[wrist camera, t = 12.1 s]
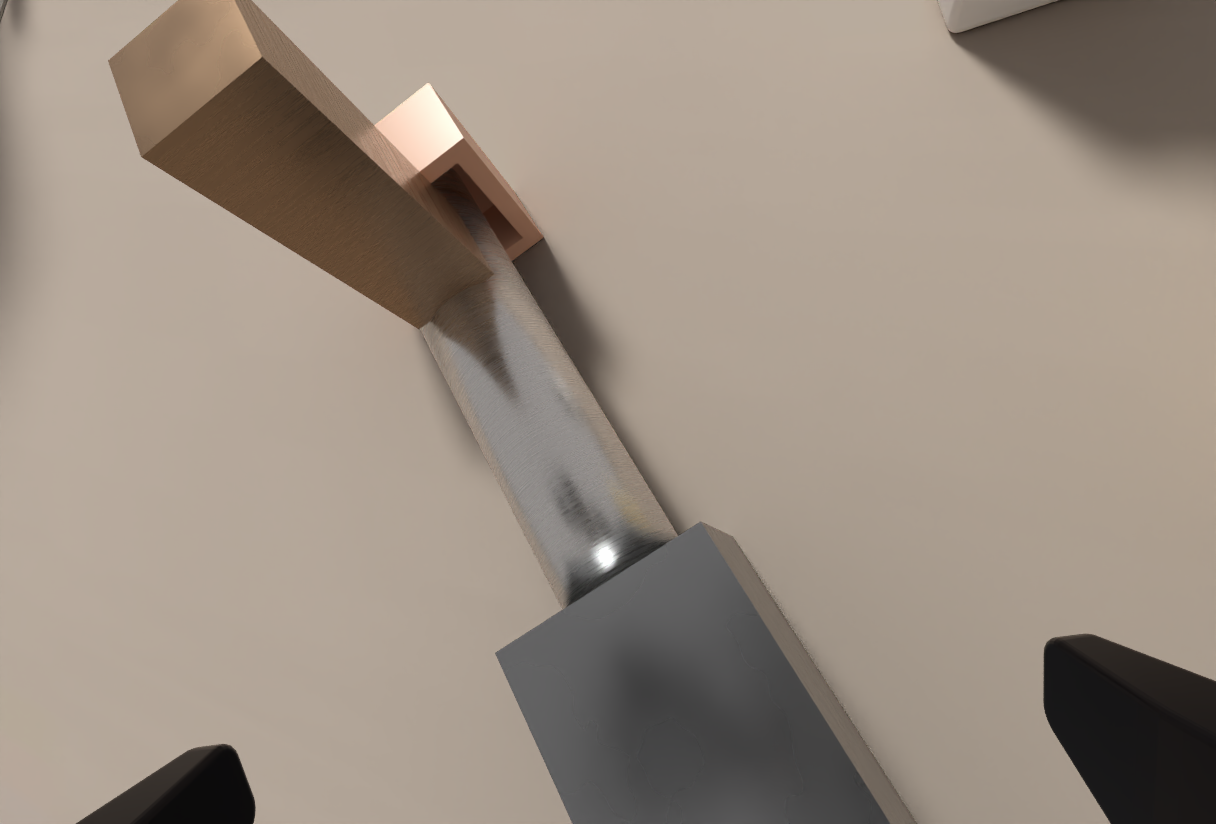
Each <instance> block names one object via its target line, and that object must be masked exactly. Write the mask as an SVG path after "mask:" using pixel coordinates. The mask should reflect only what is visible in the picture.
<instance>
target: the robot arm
mask: <svg viewBox="0 0 1216 824" xmlns="http://www.w3.org/2000/svg"><path fill="white" fill-rule="evenodd" d="M1044 709H1045V714H1046V717H1047V720H1048V722H1049V724H1050V726H1051V728H1052V730H1053V732H1054V733H1055V735H1056V737H1057V738H1058V740H1059V741H1060V743H1061V745H1062V746H1063V748H1064V749H1065V751H1066V753H1067V754H1068V756H1069V757H1070V759H1071V761H1072V762H1073V764H1074V765H1075V767H1076V769H1077V770H1078V772H1079V773H1080V775H1081V777H1082V778H1083V780H1084V781H1085V783H1086V785H1087V786H1088V788H1089V789H1090V791H1091V793H1092V794H1093V796H1094V797H1095V799H1096V801H1097V802H1098V804H1099V805H1100V807H1101V809H1102V810H1103V812H1104V813H1105V815H1106V817H1107V818H1108V820H1109V821H1110V823H1111V824H1216V681H1214V680H1211V679H1209V678H1206V677H1203V676H1201V675H1198V674H1196V673H1193V672H1190V671H1188V670H1185V669H1182V668H1180V667H1177V666H1174V665H1172V664H1169V663H1167V662H1164V661H1161V660H1159V659H1156V658H1153V657H1151V656H1148V655H1146V654H1143V653H1140V652H1138V651H1135V650H1132V649H1130V648H1127V647H1125V646H1122V645H1119V644H1117V643H1114V642H1111V641H1109V640H1106V639H1104V638H1101V637H1098V636H1095V635H1092V634H1078V635H1071V636H1063V637H1055V638H1052V639H1050V640H1049V641H1048V642H1047V643H1046V645H1045V648H1044ZM254 818H255V800H254V797H253V794H252V791H251V788H250V786H249V783H248V780H247V778H246V775H245V772H244V770H243V767H242V764H241V761H240V759H239V756H238V754H237V752H236V750H235V749H234V748H233V747H232V746H230V745H226V744H219V745H211V746H203V747H197V748H193V749H191V750H189V751H187V752H185V753H184V754H182V755H180V756H179V757H177V758H176V759H174V760H173V761H171V762H170V763H168V764H167V765H165V766H164V767H162V768H160V769H159V770H157V771H156V772H154V773H153V774H151V775H150V776H148V777H147V778H145V779H144V780H142V781H140V782H139V783H137V784H136V785H134V786H133V787H131V788H130V789H128V790H127V791H125V792H124V793H122V794H121V795H119V796H117V797H116V798H114V799H113V800H111V801H110V802H108V803H107V804H105V805H104V806H102V807H101V808H99V809H97V810H96V811H94V812H93V813H91V814H90V815H88V816H87V817H85V818H84V819H82V820H81V821H79V822H78V823H76V824H253V823H254Z"/></svg>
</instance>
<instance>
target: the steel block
mask: <svg viewBox="0 0 1216 824" xmlns="http://www.w3.org/2000/svg"><path fill="white" fill-rule="evenodd" d="M495 654H496V656H497V658H498V660H499V663H500V665H501V667H502V669H503V671H504V674H505V676H506V678H507V680H508V682H509V685H510V687H511V689H512V691H513V693H514V696H515V698H516V700H517V702H518V704H519V707H520V709H521V711H522V713H523V715H524V718H525V720H526V722H527V724H528V726H529V729H530V731H531V733H532V735H533V737H534V740H535V742H536V744H537V746H538V748H539V751H540V753H541V755H542V757H543V759H544V762H545V764H546V766H547V768H548V770H549V773H550V775H551V777H552V779H553V781H554V784H555V786H556V788H557V790H558V792H559V795H560V797H561V799H562V801H563V803H564V806H565V808H566V810H567V812H568V814H569V817H570V819H571V821H572V823H573V824H917V823H916V821H915V820H914V818H913V817H912V815H911V814H910V812H909V810H908V809H907V807H906V806H905V804H904V803H903V801H902V800H901V798H900V796H899V795H898V793H897V792H896V790H895V789H894V787H893V785H892V784H891V782H890V781H889V779H888V778H887V776H886V775H885V773H884V771H883V770H882V768H881V767H880V765H879V764H878V762H877V761H876V759H875V757H874V756H873V754H872V753H871V751H870V750H869V748H868V747H867V745H866V743H865V742H864V740H863V739H862V737H861V736H860V734H859V733H858V731H857V729H856V728H855V726H854V725H853V723H852V722H851V720H850V719H849V717H848V715H847V714H846V712H845V711H844V709H843V708H842V706H841V704H840V703H839V701H838V700H837V698H836V697H835V695H834V694H833V692H832V690H831V689H830V687H829V686H828V684H827V683H826V681H825V680H824V678H823V676H822V675H821V673H820V672H819V670H818V669H817V667H816V666H815V664H814V662H813V661H812V659H811V658H810V656H809V655H808V653H807V652H806V650H805V648H804V647H803V645H802V644H801V642H800V641H799V639H798V638H797V636H796V634H795V633H794V631H793V630H792V628H791V627H790V625H789V624H788V622H787V620H786V619H785V617H784V616H783V614H782V613H781V611H780V609H779V608H778V606H777V605H776V603H775V602H774V600H773V599H772V597H771V595H770V594H769V592H768V591H767V589H766V588H765V586H764V585H763V583H762V581H761V580H760V578H759V577H758V575H757V574H756V572H755V571H754V569H753V567H752V566H751V564H750V563H749V561H748V560H747V558H746V557H745V555H744V553H743V552H742V550H741V549H740V547H739V546H738V544H737V543H736V541H735V539H734V538H733V536H731V535H728V534H726V533H724V532H722V531H720V530H718V529H716V528H714V527H711V526H709V525H707V524H705V523H703V522H699V523H698V524H696V525H695V526H693V527H692V528H690V529H688V530H687V531H685V532H684V533H682V534H681V535H679V536H677V537H676V538H674V539H673V540H671V541H670V542H668V543H666V544H665V545H663V546H662V547H660V548H659V549H657V550H656V551H654V552H652V553H651V554H649V555H648V556H646V557H645V558H643V559H641V560H640V561H638V562H637V563H635V564H634V565H632V566H630V567H629V568H627V569H626V570H624V571H623V572H621V573H620V574H618V575H616V576H615V577H613V578H612V579H610V580H609V581H607V582H605V583H604V584H602V585H601V586H599V587H598V588H596V589H594V590H593V591H591V592H590V593H588V594H587V595H585V596H584V597H582V598H580V599H579V600H577V601H576V602H574V603H573V604H571V605H569V606H568V607H566V608H565V609H563V610H562V611H560V612H558V613H557V614H555V615H554V616H552V617H551V618H549V619H548V620H546V621H544V622H543V623H541V624H540V625H538V626H537V627H535V628H533V629H532V630H530V631H529V632H527V633H526V634H524V635H523V636H521V637H519V638H518V639H516V640H515V641H513V642H512V643H510V644H508V645H507V646H505V647H504V648H502V649H501V650H499V651H497V652H496V653H495Z"/></svg>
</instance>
